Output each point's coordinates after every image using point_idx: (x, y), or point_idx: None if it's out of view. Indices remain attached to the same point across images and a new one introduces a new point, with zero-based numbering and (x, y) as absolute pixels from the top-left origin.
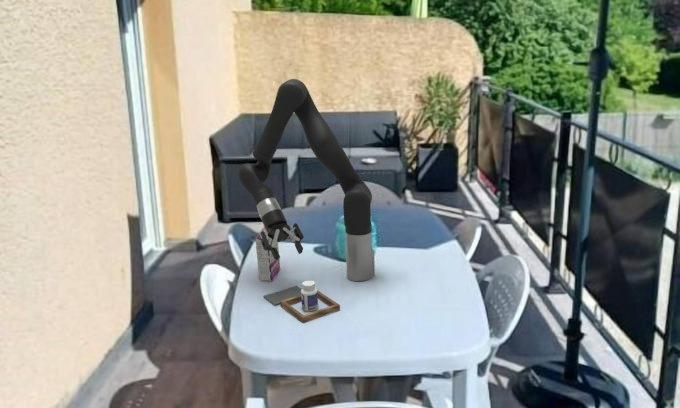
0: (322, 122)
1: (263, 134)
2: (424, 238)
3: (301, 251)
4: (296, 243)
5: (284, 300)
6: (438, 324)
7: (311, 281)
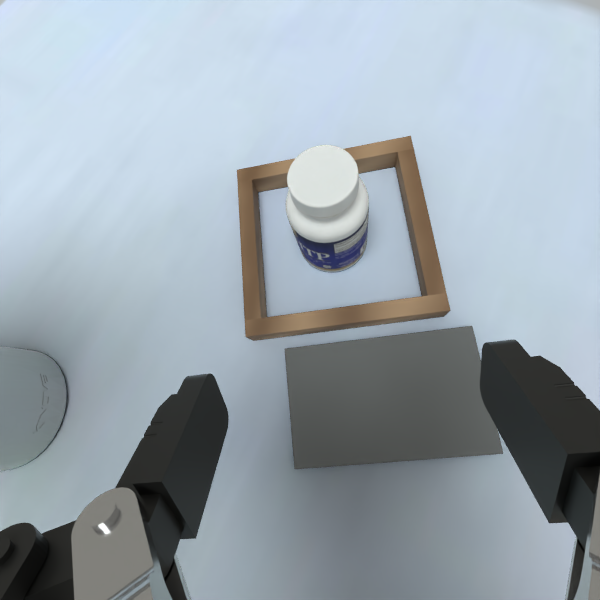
0: None
1: None
2: None
3: (204, 374)
4: (176, 486)
5: (427, 306)
6: (79, 20)
7: (297, 187)
